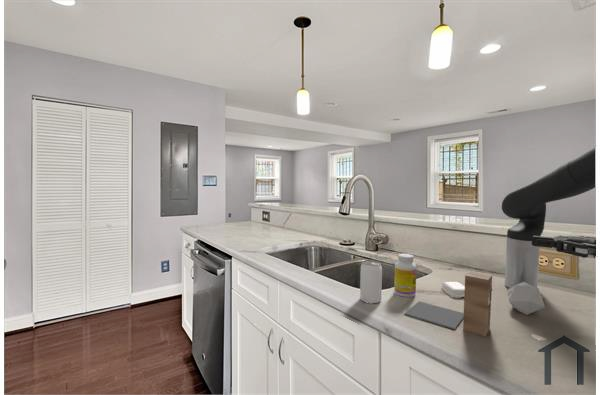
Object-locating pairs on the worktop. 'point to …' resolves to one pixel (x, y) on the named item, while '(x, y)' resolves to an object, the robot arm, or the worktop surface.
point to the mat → (435, 315)
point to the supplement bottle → (405, 276)
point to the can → (371, 281)
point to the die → (525, 298)
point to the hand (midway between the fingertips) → (532, 240)
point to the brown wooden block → (477, 302)
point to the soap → (453, 289)
